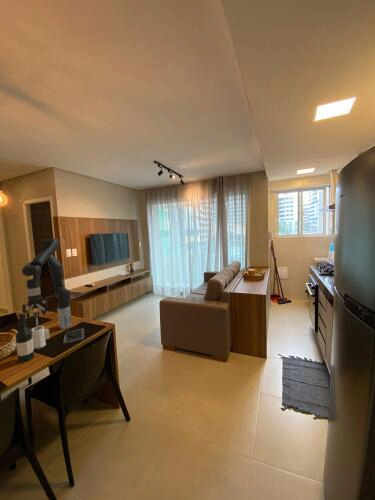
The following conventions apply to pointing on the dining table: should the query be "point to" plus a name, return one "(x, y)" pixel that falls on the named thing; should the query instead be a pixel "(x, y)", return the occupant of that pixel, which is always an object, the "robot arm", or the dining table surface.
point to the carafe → (39, 337)
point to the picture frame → (73, 336)
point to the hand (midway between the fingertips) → (36, 316)
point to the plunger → (36, 319)
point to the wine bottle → (24, 341)
